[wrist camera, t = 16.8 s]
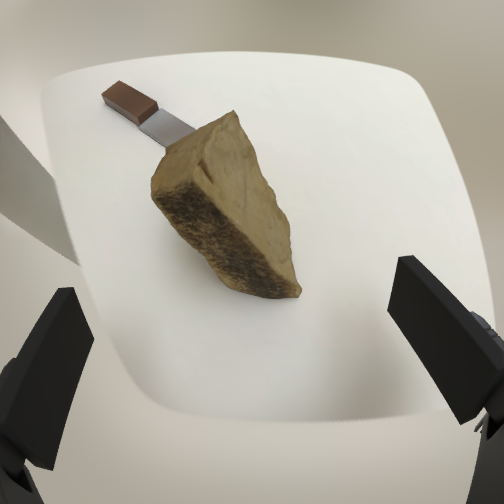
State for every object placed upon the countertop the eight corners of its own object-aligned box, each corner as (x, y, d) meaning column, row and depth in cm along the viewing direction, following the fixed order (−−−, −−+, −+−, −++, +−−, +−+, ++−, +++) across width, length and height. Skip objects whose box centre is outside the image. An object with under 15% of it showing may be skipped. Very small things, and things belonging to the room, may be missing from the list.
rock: (158, 117, 19) (97, 249, 15) (237, 31, 13) (169, 174, 9) (275, 193, 25) (255, 315, 21) (366, 148, 19) (372, 296, 14)
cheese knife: (103, 104, 22) (99, 95, 21) (124, 88, 23) (120, 78, 22) (181, 159, 21) (179, 149, 20) (205, 137, 21) (204, 127, 20)
